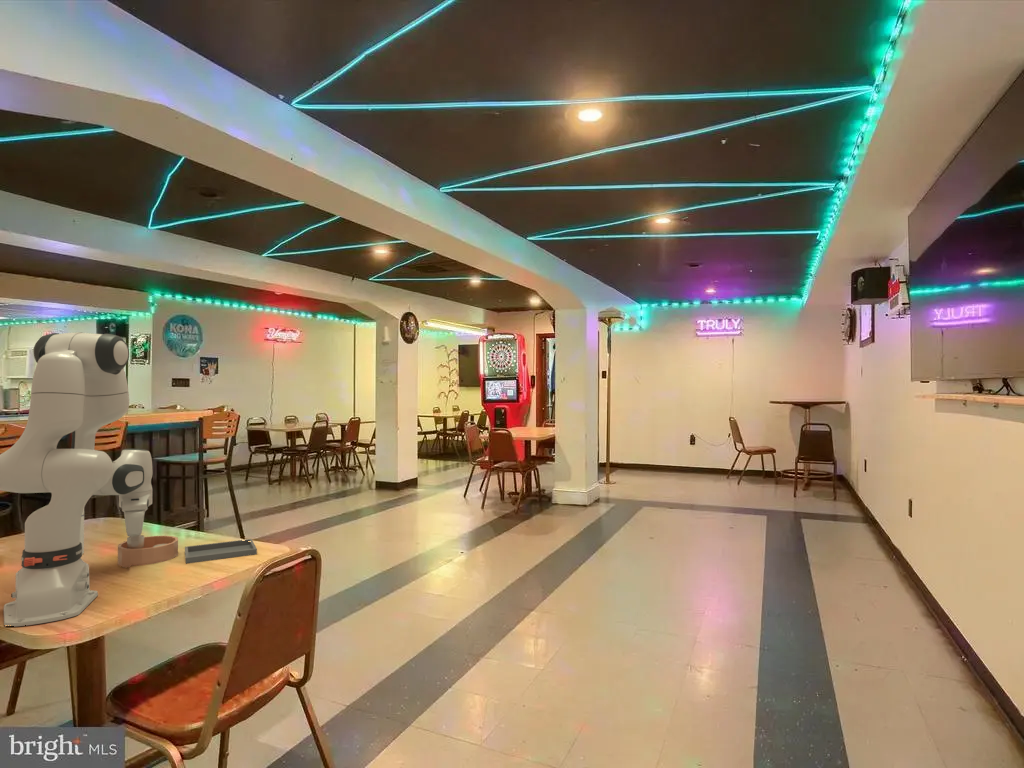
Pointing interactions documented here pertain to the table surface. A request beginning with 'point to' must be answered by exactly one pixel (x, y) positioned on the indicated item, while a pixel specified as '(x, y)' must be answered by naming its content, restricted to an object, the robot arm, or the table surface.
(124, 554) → the terracotta bowl
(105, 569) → the table surface
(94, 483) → the robot arm
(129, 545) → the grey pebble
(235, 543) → the parts tray
